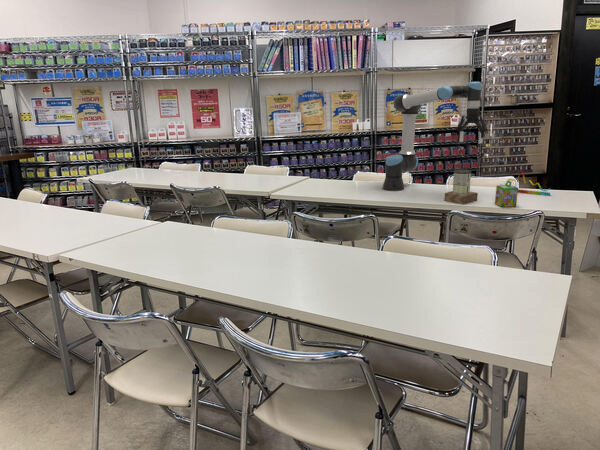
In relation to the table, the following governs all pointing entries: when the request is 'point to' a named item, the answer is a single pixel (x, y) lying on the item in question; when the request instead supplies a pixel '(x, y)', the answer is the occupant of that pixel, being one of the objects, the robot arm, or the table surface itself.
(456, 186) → the coffee can
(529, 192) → the chart
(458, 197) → the walnut block
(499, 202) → the colourful patterned gift box
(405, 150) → the robot arm
